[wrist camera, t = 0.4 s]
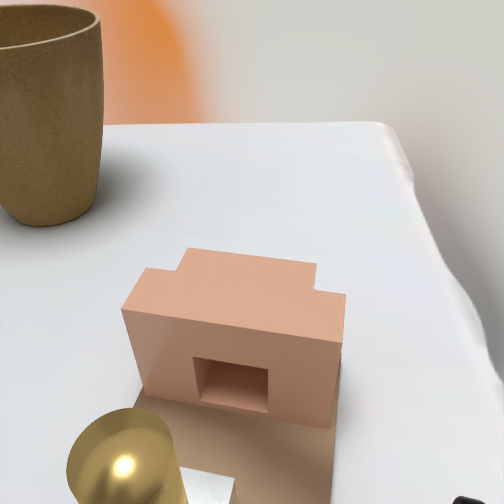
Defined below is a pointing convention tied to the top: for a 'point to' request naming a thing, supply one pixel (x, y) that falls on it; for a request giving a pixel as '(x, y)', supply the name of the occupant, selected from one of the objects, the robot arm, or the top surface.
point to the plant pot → (49, 111)
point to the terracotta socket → (238, 336)
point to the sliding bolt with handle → (138, 465)
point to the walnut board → (252, 450)
